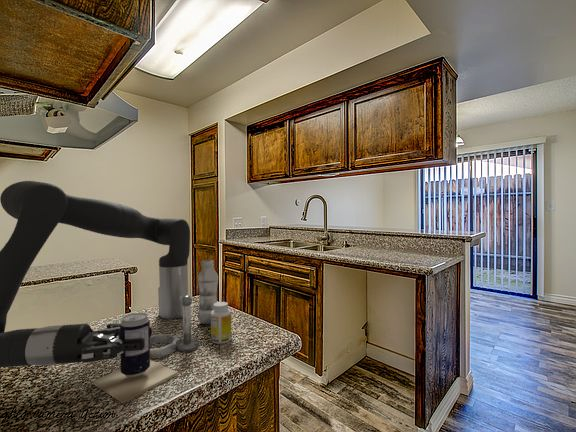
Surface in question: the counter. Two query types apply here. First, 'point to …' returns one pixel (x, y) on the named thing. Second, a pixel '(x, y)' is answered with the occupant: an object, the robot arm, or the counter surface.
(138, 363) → the beverage can
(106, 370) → the counter surface
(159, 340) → the steel ring stand
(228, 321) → the supplement bottle
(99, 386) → the birch board
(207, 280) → the plastic bottle
